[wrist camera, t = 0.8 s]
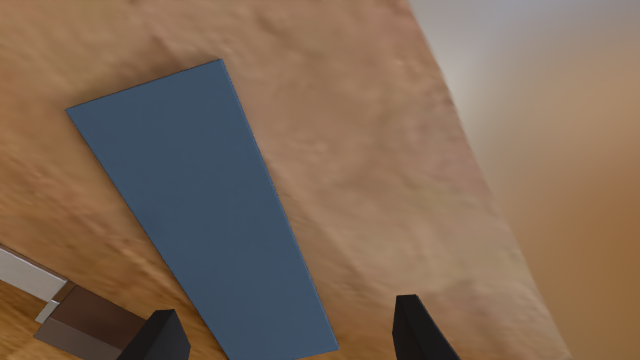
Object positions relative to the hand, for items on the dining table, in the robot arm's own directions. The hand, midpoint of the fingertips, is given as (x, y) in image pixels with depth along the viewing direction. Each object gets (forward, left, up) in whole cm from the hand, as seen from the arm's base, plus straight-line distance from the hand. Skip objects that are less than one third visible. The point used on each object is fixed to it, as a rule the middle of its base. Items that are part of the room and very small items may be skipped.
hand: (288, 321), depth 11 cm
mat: (-6, -4, -10) cm, 12 cm away
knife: (-19, -2, -10) cm, 21 cm away
